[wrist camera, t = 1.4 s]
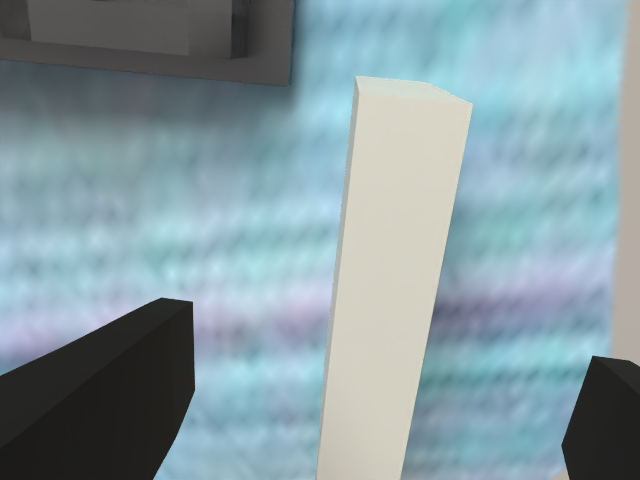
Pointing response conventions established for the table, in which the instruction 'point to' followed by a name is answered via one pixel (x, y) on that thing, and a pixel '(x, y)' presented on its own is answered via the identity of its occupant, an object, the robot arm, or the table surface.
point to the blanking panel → (386, 270)
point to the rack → (155, 36)
